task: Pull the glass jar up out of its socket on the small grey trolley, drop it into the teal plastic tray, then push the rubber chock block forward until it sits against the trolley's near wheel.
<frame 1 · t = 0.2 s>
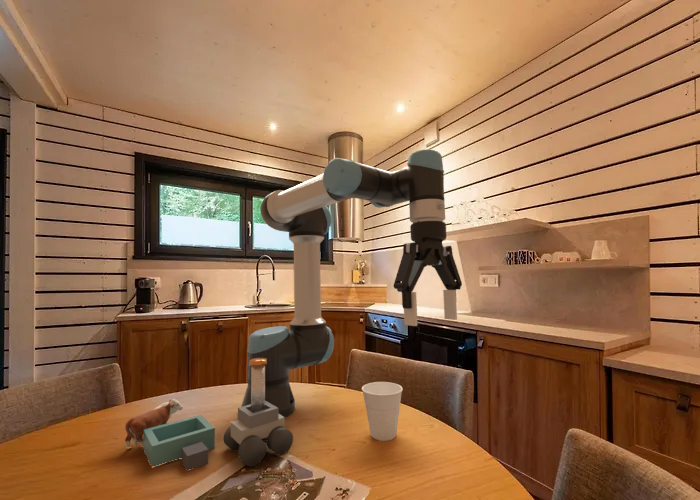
hand: (432, 322, 69), 28 cm above the table, fingers open, 13 cm apart
tray: (178, 448, 74), on the table
trolley: (257, 450, 73), on the table
cup: (383, 436, 79), on the table
glass jar: (258, 419, 74), point 6 cm above the table, touching trolley
bull figurine: (153, 441, 79), on the table
chock: (194, 463, 68), on the table
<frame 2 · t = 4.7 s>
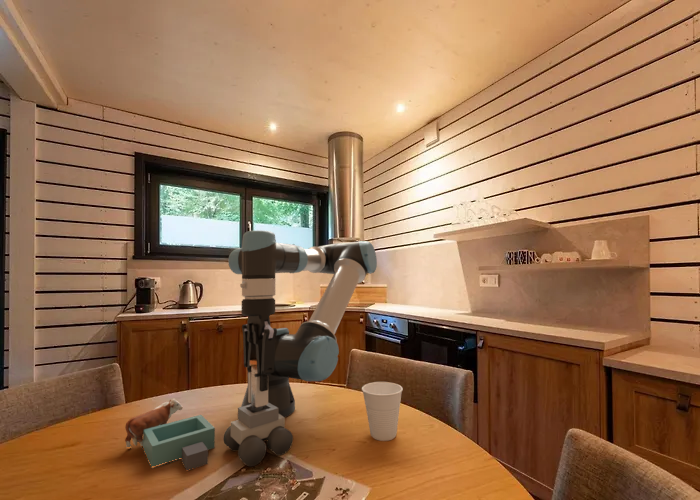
hand: (258, 403, 74), 10 cm above the table, fingers closed on glass jar, 3 cm apart
glass jar: (258, 419, 74), point 7 cm above the table, touching gripper
everything else where it was.
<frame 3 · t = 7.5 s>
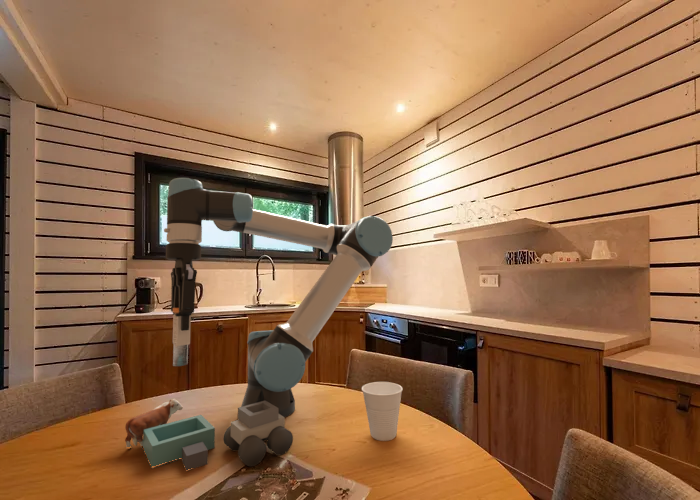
hand: (181, 343, 77), 23 cm above the table, fingers closed on glass jar, 3 cm apart
glass jar: (180, 364, 76), point 19 cm above the table, touching gripper
everything else where it was.
when the fingers open (6 cm above the table, at t = 10.2 s): glass jar stays where it is, resting on tray.
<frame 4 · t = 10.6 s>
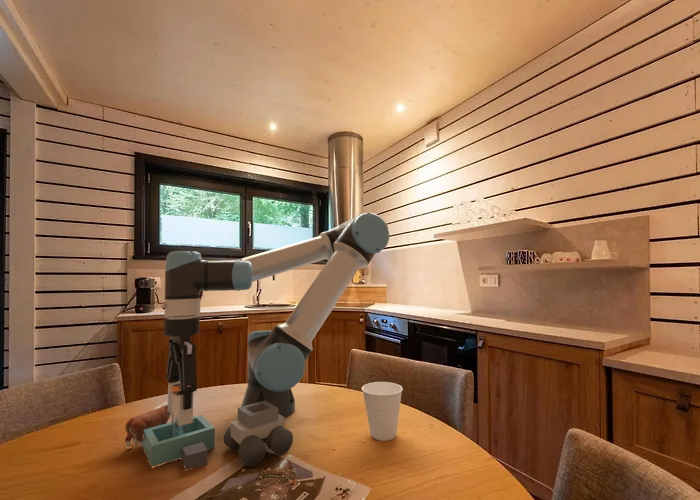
hand: (179, 416, 75), 7 cm above the table, fingers open, 9 cm apart
glass jar: (178, 445, 74), point 1 cm above the table, touching tray
everything else where it was.
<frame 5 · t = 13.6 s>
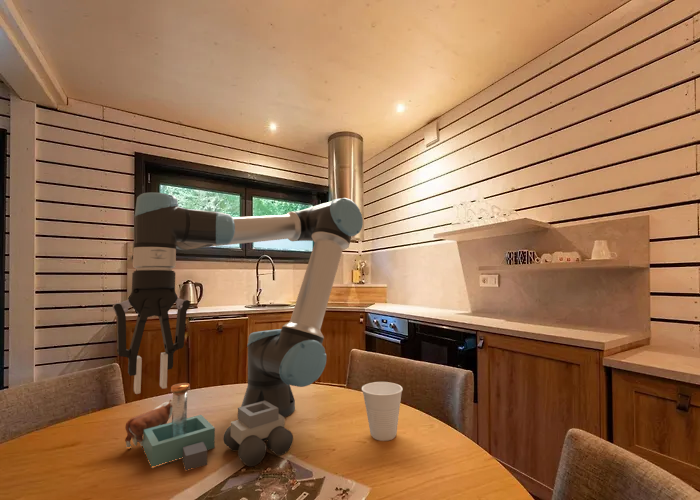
hand: (150, 389, 65), 17 cm above the table, fingers open, 4 cm apart
nothing on the table moved.
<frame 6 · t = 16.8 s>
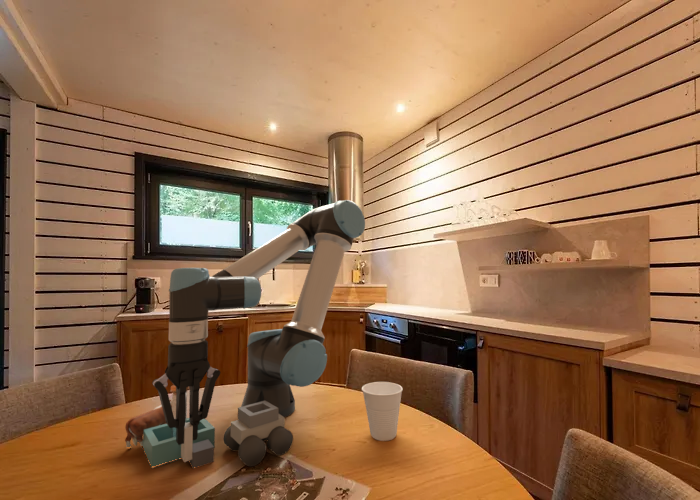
hand: (186, 458, 68), 1 cm above the table, fingers closed
chock: (200, 460, 69), on the table
everything else where it was.
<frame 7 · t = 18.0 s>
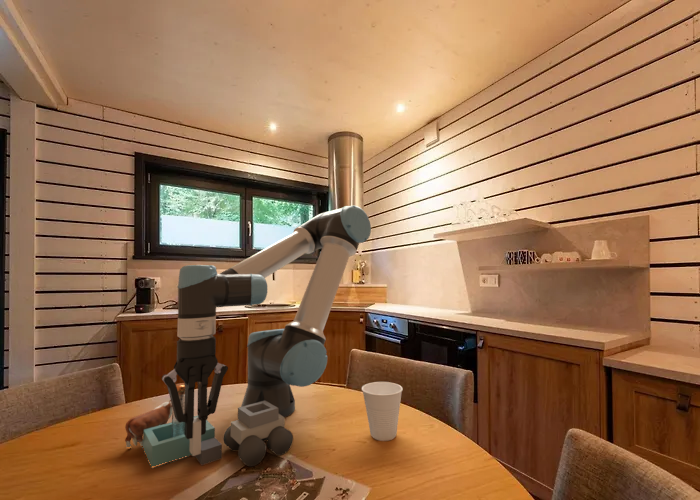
hand: (195, 452, 69), 2 cm above the table, fingers closed
chock: (208, 458, 70), on the table
everything else where it was.
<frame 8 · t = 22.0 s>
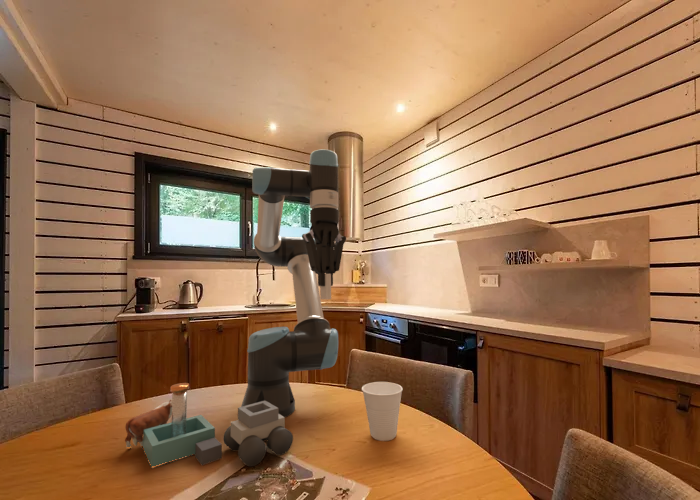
hand: (325, 299, 85), 32 cm above the table, fingers closed
nothing on the table moved.
at the end: glass jar inside the target area on the tray (0.1 cm from its centre), point 0.8 cm above the tray's base; chock 0.8 cm from the target spot, on the table; the gripper is holding nothing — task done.
